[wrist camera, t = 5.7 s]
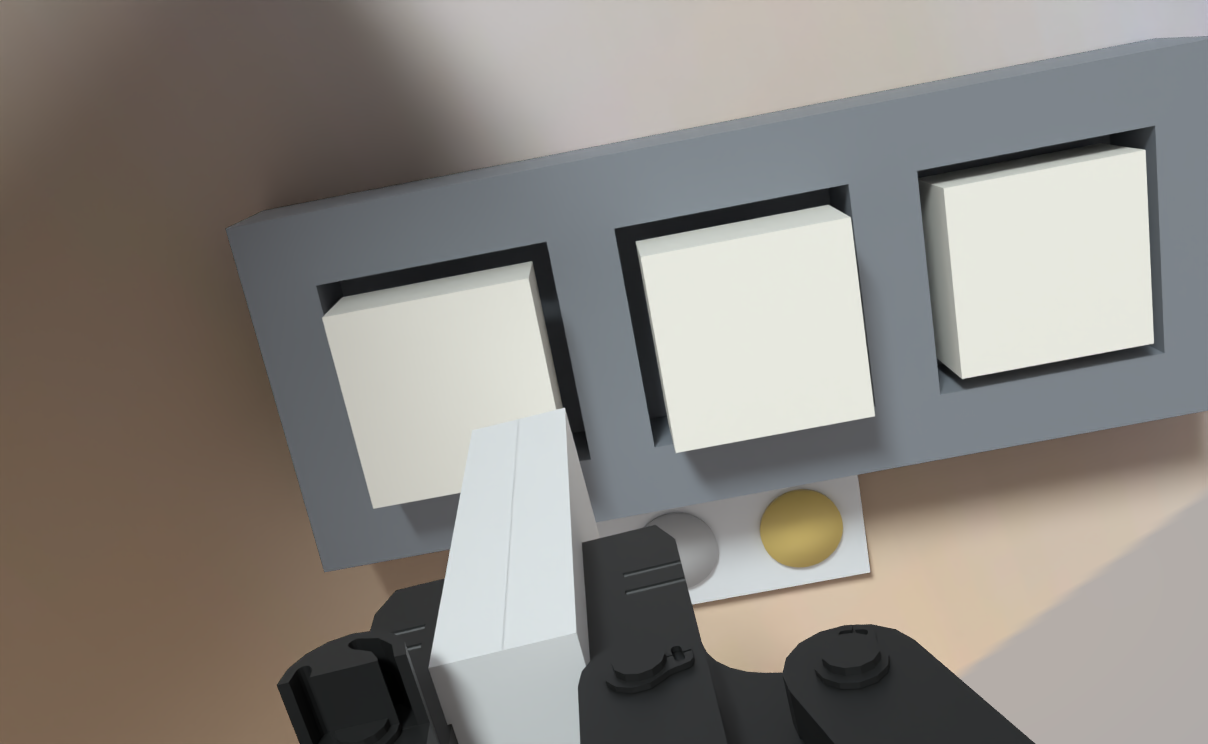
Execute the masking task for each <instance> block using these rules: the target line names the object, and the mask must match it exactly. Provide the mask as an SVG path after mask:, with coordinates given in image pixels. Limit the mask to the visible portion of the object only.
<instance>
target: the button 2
mask: <svg viewBox="0 0 1208 744" xmlns="http://www.w3.org/2000/svg"><path fill="white" fill-rule="evenodd" d="M635 242H636V247H637V253H638V258H639V264H640V269H641V275H642V280H643V286H644V292H645V297H646V303H647V308H648V314H649V319H650V325H651V330H652V336H653V341H654V347H655V353H656V358H657V364H658V369H659V375H660V380H661V386H662V391H663V397H664V403H665V408H666V414H667V419H668V424H669V428H670V432H671V436H672V440H673V444H674V448H675V452H676V453H679V452H684V451H689V450H695V449H700V448H706V447H711V446H717V445H722V444H727V443H733V442H738V441H744V440H749V439H754V438H760V437H765V436H771V435H776V434H782V433H787V432H792V431H798V430H803V429H809V428H814V427H819V426H825V425H830V424H836V423H841V422H847V421H852V420H857V419H863V418H868V417H874V416H875V411H874V403H873V395H872V387H871V379H870V370H869V362H868V354H867V346H866V338H865V330H864V321H863V313H862V305H861V297H860V289H859V280H858V272H857V264H856V256H855V248H854V240H853V231H852V223H851V217H849V216H848V215H846V214H844V213H842V212H841V211H839V210H837V209H835V208H833V207H832V206H830V205H824V206H819V207H814V208H808V209H803V210H798V211H793V212H787V213H782V214H777V215H772V216H766V217H761V218H756V219H751V220H745V221H740V222H735V223H730V224H724V225H719V226H714V227H709V228H703V229H698V230H693V231H688V232H682V233H677V234H672V235H667V236H661V237H656V238H651V239H646V240H640V241H635Z"/></svg>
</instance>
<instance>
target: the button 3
mask: <svg viewBox="0 0 1208 744" xmlns="http://www.w3.org/2000/svg"><path fill="white" fill-rule="evenodd" d="M918 184H919V194H920V204H921V213H922V223H923V233H924V242H925V252H926V262H927V271H928V281H929V291H930V300H931V310H932V320H933V329H934V339H935V349H936V358H937V359H938V360H940V361H941V362H942V363H943V364H944V365H946V366H947V367H948V368H949V369H951V370H952V371H953V372H954V373H955V374H957V375H958V376H959V377H960V378H962V379H965V378H970V377H975V376H981V375H986V374H992V373H997V372H1002V371H1008V370H1013V369H1019V368H1024V367H1029V366H1035V365H1040V364H1046V363H1051V362H1056V361H1062V360H1067V359H1073V358H1078V357H1083V356H1089V355H1094V354H1100V353H1105V352H1110V351H1116V350H1121V349H1127V348H1132V347H1137V346H1143V345H1148V344H1154V332H1153V310H1152V287H1151V264H1150V241H1149V218H1148V195H1147V173H1146V150H1143V149H1136V148H1130V147H1123V146H1117V145H1110V144H1103V143H1099V144H1094V145H1089V146H1084V147H1078V148H1073V149H1068V150H1063V151H1057V152H1052V153H1047V154H1042V155H1036V156H1031V157H1026V158H1021V159H1015V160H1010V161H1005V162H1000V163H994V164H989V165H984V166H979V167H973V168H968V169H963V170H958V171H953V172H947V173H942V174H937V175H932V176H926V177H921V178H918Z"/></svg>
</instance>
